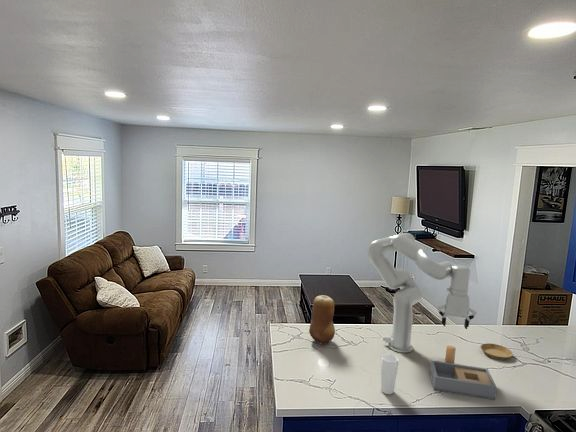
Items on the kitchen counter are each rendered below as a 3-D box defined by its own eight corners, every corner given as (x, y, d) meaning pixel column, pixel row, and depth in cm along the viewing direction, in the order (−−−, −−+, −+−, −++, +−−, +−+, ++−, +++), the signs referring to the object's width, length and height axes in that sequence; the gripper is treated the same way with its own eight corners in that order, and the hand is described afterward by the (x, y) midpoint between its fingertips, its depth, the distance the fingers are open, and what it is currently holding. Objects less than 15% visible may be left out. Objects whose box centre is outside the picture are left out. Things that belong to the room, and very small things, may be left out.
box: (433, 390, 170) (435, 377, 169) (430, 372, 185) (431, 360, 184) (494, 400, 165) (496, 386, 164) (486, 381, 179) (487, 368, 178)
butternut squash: (338, 341, 213) (341, 296, 210) (327, 350, 202) (329, 303, 198) (315, 334, 220) (318, 290, 217) (303, 342, 209) (305, 297, 206)
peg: (445, 368, 189) (447, 348, 187) (444, 364, 192) (446, 345, 191) (454, 369, 188) (456, 350, 186) (452, 365, 192) (454, 346, 190)
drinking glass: (377, 386, 171) (379, 354, 169) (392, 386, 171) (395, 354, 169) (382, 396, 164) (384, 362, 162) (397, 396, 165) (400, 362, 163)
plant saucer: (518, 361, 199) (519, 356, 199) (492, 362, 197) (493, 357, 197) (498, 347, 214) (499, 342, 213) (474, 348, 211) (474, 343, 211)
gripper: (440, 292, 183) (436, 327, 186) (480, 296, 180) (476, 332, 182) (438, 287, 191) (434, 321, 193) (476, 291, 187) (472, 325, 189)
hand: (454, 326), depth 188 cm, fingers open, 9 cm apart
